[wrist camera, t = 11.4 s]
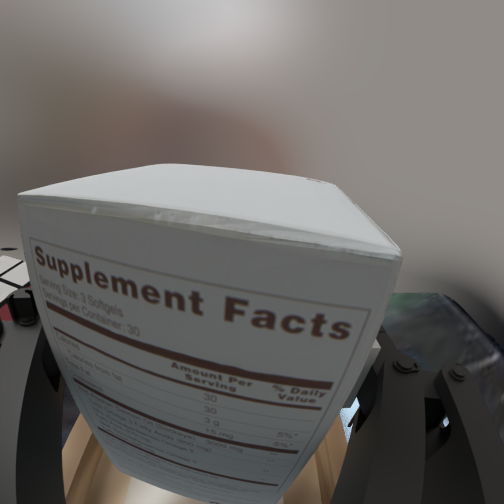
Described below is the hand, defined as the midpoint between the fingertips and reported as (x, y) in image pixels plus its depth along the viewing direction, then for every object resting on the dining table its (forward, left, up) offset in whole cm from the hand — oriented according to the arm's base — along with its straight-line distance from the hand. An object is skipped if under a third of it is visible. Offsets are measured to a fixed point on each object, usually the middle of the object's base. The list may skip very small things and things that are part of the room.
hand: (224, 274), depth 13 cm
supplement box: (0, -5, -8) cm, 9 cm away
